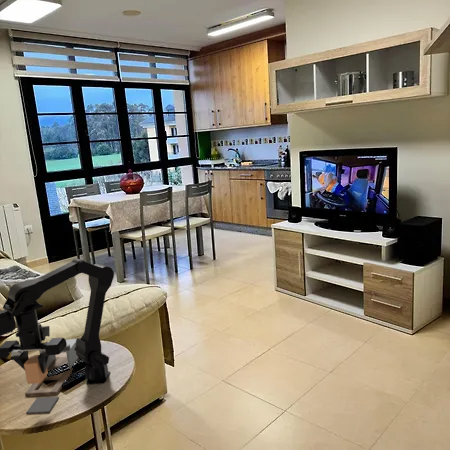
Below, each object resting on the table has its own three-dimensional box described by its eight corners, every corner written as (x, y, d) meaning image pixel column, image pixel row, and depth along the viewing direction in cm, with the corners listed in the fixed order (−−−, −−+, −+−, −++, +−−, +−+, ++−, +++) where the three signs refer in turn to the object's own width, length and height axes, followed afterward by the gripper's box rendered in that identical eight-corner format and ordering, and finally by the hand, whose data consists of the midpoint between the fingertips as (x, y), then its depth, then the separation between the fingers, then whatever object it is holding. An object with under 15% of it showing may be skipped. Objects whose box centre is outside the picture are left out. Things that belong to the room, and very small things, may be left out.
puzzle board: (81, 358, 156) (81, 355, 156) (57, 394, 135) (56, 391, 135) (53, 359, 157) (53, 357, 157) (25, 396, 135) (24, 393, 135)
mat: (58, 398, 133) (58, 396, 133) (49, 412, 126) (49, 411, 126) (37, 399, 133) (36, 397, 133) (26, 413, 126) (26, 412, 126)
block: (48, 373, 130) (44, 354, 129) (40, 383, 125) (37, 363, 124) (35, 374, 130) (31, 355, 129) (27, 383, 125) (23, 364, 124)
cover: (80, 356, 156) (77, 334, 154) (72, 368, 148) (68, 346, 146) (52, 357, 156) (49, 336, 154) (42, 370, 148) (38, 348, 146)
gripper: (69, 312, 131) (77, 357, 135) (10, 315, 132) (19, 360, 136) (54, 328, 121) (63, 377, 124) (-10, 332, 121) (1, 380, 125)
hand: (37, 373), depth 127 cm, fingers closed on block, 4 cm apart
